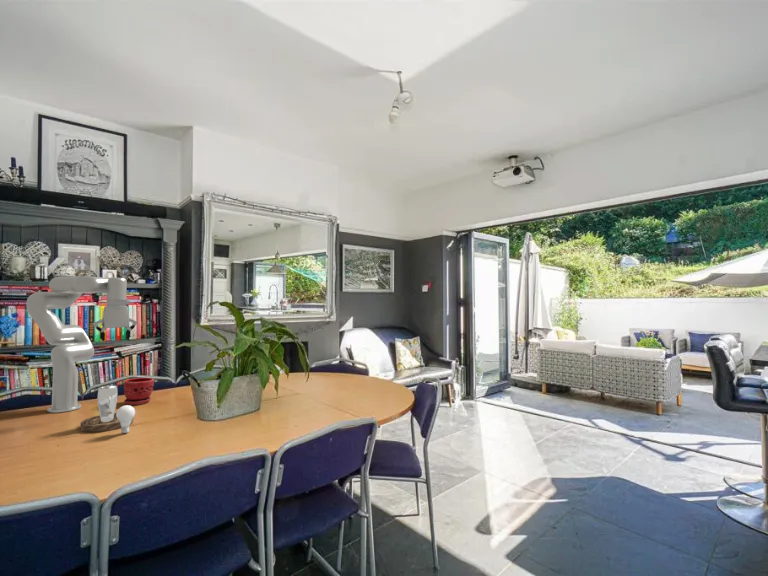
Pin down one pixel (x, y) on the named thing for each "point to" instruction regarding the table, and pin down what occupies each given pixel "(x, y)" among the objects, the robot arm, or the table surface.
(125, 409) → the lightbulb
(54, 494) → the table surface
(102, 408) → the beer glass
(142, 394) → the plant pot
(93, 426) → the tray
